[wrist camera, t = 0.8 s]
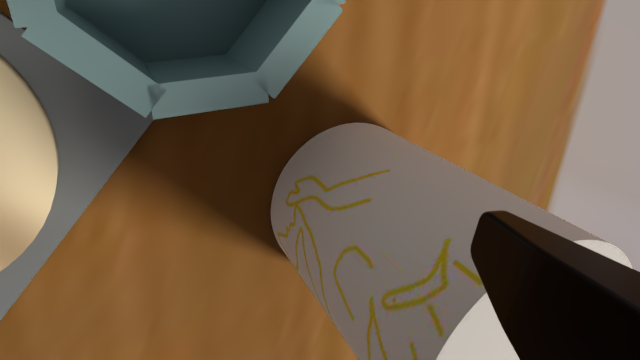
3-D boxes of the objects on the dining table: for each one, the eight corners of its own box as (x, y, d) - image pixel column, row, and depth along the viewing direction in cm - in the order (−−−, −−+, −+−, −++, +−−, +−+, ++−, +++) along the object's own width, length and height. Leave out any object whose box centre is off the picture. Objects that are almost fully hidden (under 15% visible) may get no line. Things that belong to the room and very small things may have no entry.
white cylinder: (277, 122, 21) (454, 258, 10) (428, 123, 24) (671, 227, 14) (264, 281, 23) (394, 509, 13) (401, 261, 27) (586, 432, 17)
